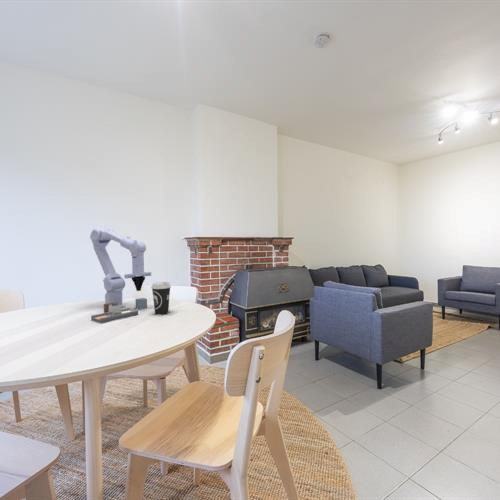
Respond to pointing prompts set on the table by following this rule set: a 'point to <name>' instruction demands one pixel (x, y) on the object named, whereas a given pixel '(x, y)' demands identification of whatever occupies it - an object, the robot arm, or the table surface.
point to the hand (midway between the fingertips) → (138, 290)
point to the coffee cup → (161, 297)
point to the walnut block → (107, 307)
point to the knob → (114, 309)
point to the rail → (106, 317)
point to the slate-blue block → (141, 303)
